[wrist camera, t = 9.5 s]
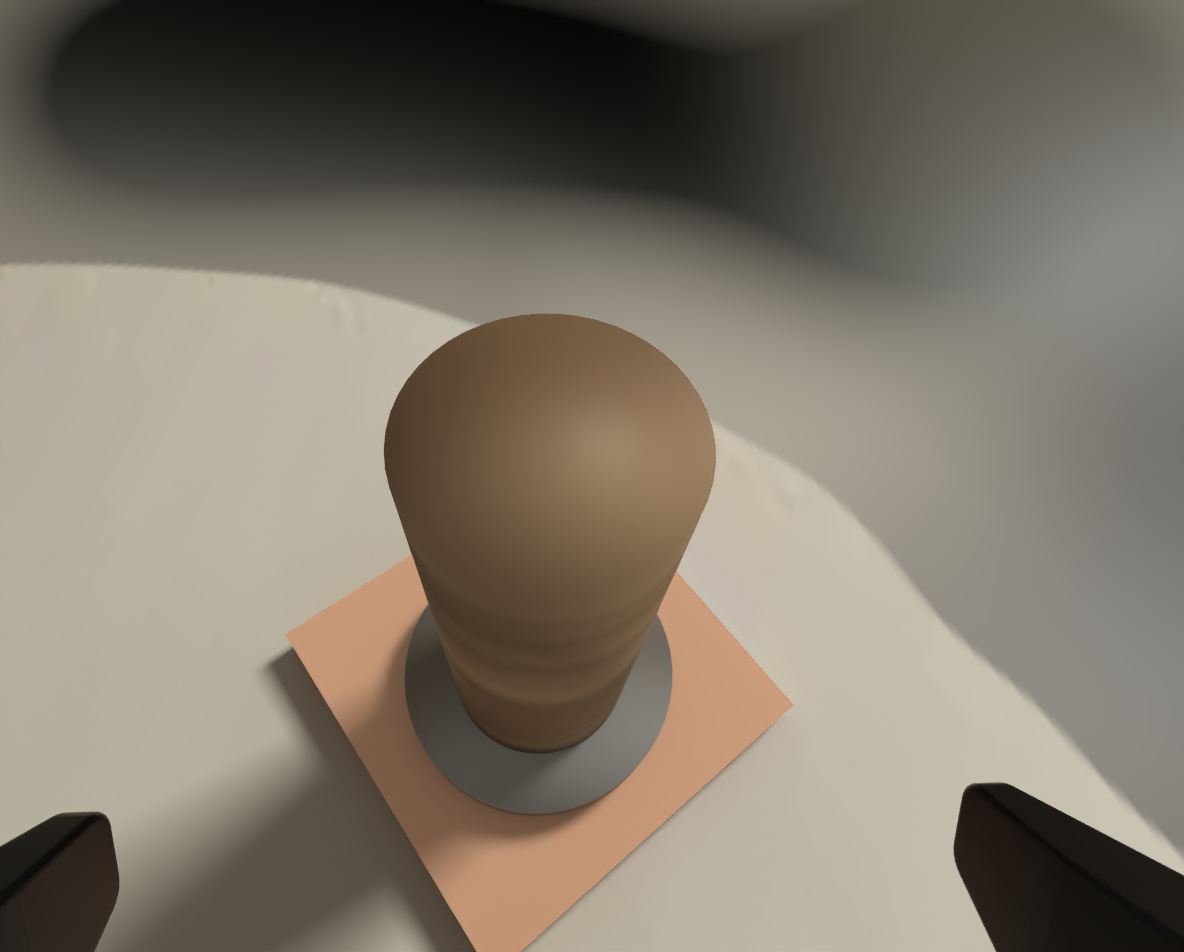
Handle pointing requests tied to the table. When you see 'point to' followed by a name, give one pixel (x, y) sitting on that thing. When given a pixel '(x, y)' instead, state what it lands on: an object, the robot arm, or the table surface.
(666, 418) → the tamper
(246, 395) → the table surface
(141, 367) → the table surface
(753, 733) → the tile rest
